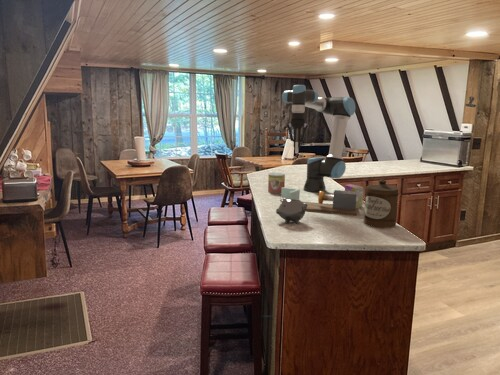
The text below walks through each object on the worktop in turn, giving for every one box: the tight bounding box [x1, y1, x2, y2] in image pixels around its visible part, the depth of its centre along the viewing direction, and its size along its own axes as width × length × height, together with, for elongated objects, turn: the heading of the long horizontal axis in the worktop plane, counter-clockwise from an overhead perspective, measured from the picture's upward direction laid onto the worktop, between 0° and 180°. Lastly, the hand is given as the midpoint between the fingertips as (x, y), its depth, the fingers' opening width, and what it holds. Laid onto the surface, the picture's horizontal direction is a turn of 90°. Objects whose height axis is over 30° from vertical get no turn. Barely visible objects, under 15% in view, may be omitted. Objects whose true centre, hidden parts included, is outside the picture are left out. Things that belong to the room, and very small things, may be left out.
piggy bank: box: [275, 198, 307, 225], centre depth 187 cm, size 11×15×12 cm
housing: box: [332, 189, 357, 211], centre depth 212 cm, size 8×12×9 cm
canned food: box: [267, 172, 286, 194], centre depth 263 cm, size 11×11×12 cm
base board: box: [302, 201, 359, 216], centre depth 216 cm, size 16×36×2 cm, turn 73°
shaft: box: [317, 191, 358, 204], centre depth 213 cm, size 7×21×7 cm, turn 73°
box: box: [344, 184, 364, 208], centre depth 225 cm, size 10×6×12 cm, turn 21°
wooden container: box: [363, 178, 399, 229], centre depth 186 cm, size 15×15×22 cm
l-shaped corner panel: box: [280, 187, 301, 202], centre depth 235 cm, size 12×12×8 cm
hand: (296, 153), depth 228 cm, fingers closed
